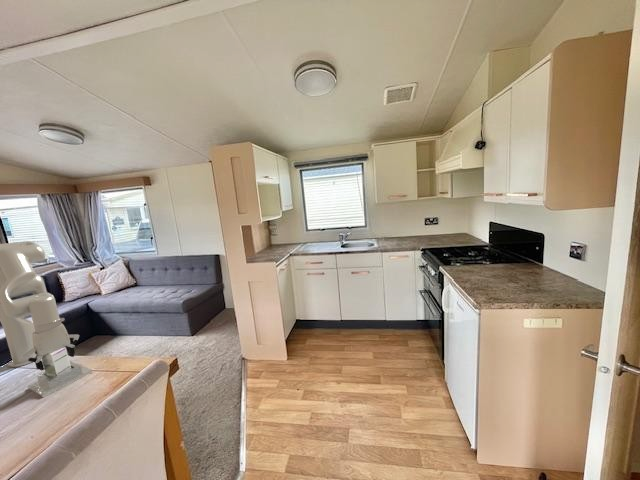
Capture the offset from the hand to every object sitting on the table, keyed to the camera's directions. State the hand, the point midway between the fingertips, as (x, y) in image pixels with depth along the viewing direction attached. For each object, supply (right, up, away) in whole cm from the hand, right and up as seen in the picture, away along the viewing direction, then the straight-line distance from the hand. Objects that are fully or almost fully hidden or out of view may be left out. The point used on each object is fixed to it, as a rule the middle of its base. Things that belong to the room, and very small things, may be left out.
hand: (57, 362), depth 109 cm
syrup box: (0, -8, +1) cm, 9 cm away
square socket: (+1, -8, +1) cm, 8 cm away
